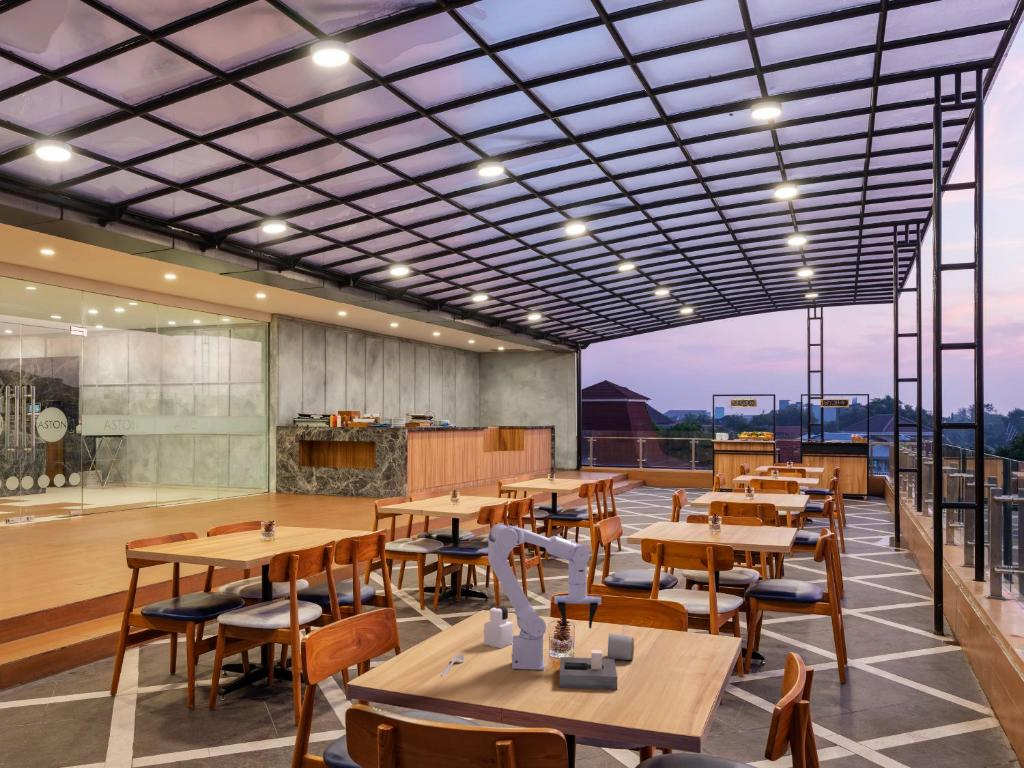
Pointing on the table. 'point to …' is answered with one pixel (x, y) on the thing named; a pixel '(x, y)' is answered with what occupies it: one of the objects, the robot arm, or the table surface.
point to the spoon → (452, 663)
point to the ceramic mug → (620, 647)
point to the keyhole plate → (587, 674)
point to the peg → (596, 659)
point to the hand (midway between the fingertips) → (577, 627)
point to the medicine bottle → (498, 628)
